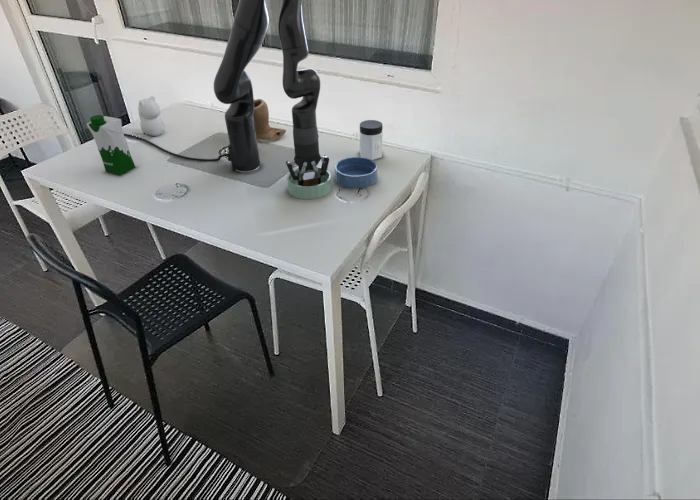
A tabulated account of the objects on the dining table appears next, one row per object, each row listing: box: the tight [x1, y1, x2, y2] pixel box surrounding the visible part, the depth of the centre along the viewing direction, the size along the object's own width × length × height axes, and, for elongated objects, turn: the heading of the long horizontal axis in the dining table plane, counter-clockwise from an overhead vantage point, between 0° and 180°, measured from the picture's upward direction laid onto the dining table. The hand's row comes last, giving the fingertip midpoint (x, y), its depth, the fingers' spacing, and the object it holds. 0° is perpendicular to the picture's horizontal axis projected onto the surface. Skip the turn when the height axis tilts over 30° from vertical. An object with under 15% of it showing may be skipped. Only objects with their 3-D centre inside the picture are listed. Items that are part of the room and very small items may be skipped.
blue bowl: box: [334, 156, 378, 189], centre depth 151 cm, size 14×14×5 cm
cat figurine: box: [137, 95, 165, 137], centre depth 183 cm, size 9×12×15 cm
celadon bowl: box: [286, 166, 332, 200], centre depth 146 cm, size 14×14×5 cm
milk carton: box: [86, 114, 136, 177], centre depth 155 cm, size 9×9×20 cm
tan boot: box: [253, 98, 287, 141], centre depth 178 cm, size 15×12×15 cm
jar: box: [359, 119, 384, 161], centre depth 164 cm, size 9×8×12 cm
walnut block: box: [302, 172, 318, 186], centre depth 146 cm, size 5×5×5 cm
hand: (309, 187), depth 147 cm, fingers closed on walnut block, 4 cm apart
